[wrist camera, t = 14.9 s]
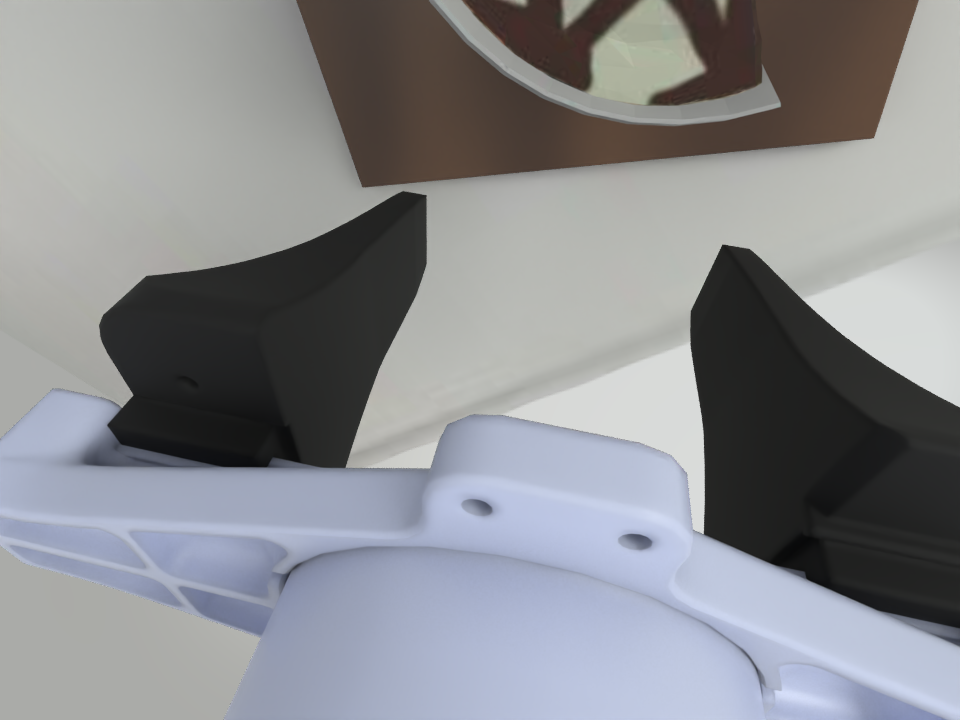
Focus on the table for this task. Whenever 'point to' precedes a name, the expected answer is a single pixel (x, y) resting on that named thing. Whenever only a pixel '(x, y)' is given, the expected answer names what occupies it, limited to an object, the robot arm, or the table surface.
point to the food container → (625, 55)
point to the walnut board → (566, 133)
